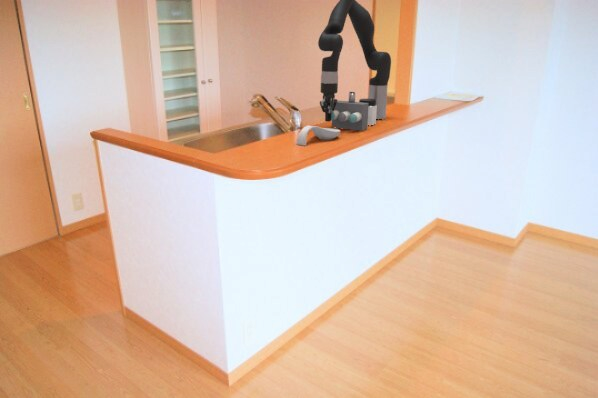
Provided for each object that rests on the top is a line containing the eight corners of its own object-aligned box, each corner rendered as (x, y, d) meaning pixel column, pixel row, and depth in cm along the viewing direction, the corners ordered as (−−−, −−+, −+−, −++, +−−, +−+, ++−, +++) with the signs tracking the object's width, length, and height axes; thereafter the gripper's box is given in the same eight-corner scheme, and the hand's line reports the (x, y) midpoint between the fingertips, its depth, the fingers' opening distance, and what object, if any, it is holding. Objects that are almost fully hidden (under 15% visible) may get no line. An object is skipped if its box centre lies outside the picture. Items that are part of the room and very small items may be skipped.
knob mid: (347, 117, 226) (348, 109, 225) (355, 118, 225) (356, 109, 223) (337, 121, 218) (337, 112, 216) (345, 122, 216) (345, 113, 215)
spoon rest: (323, 134, 214) (323, 118, 211) (345, 138, 207) (346, 121, 204) (289, 144, 196) (289, 126, 194) (313, 148, 189) (313, 130, 187)
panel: (337, 125, 231) (338, 100, 227) (367, 128, 224) (368, 103, 220) (331, 127, 227) (332, 102, 223) (361, 131, 219) (363, 104, 215)
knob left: (337, 116, 229) (337, 108, 228) (345, 117, 227) (345, 108, 226) (326, 120, 221) (327, 111, 219) (334, 120, 219) (334, 112, 217)
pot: (350, 101, 224) (350, 91, 223) (356, 101, 223) (356, 91, 221) (347, 102, 222) (347, 92, 220) (353, 102, 220) (353, 92, 219)
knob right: (358, 118, 224) (359, 110, 222) (366, 119, 222) (366, 110, 221) (348, 122, 215) (348, 113, 214) (356, 123, 213) (357, 114, 212)
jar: (357, 126, 231) (358, 100, 227) (357, 122, 238) (358, 98, 234) (376, 126, 230) (377, 101, 226) (375, 123, 238) (376, 98, 234)
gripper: (328, 80, 219) (327, 118, 224) (314, 82, 208) (313, 122, 214) (343, 81, 215) (341, 120, 221) (329, 83, 205) (328, 124, 210)
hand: (327, 121), depth 217 cm, fingers closed
